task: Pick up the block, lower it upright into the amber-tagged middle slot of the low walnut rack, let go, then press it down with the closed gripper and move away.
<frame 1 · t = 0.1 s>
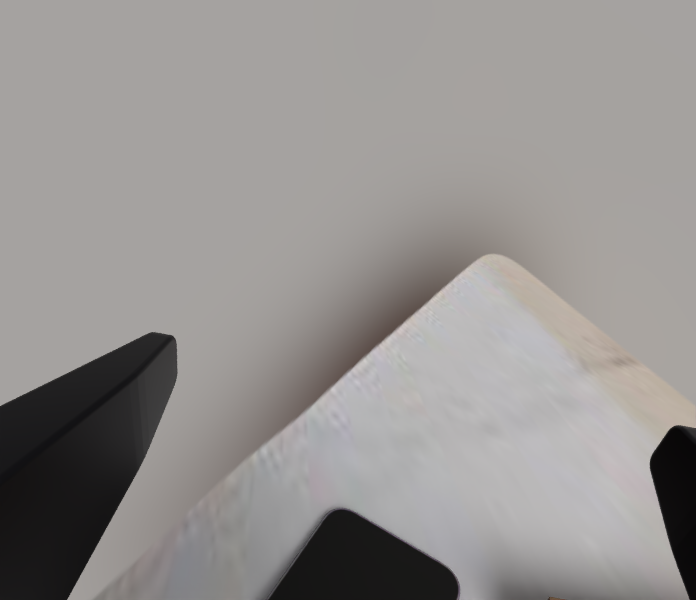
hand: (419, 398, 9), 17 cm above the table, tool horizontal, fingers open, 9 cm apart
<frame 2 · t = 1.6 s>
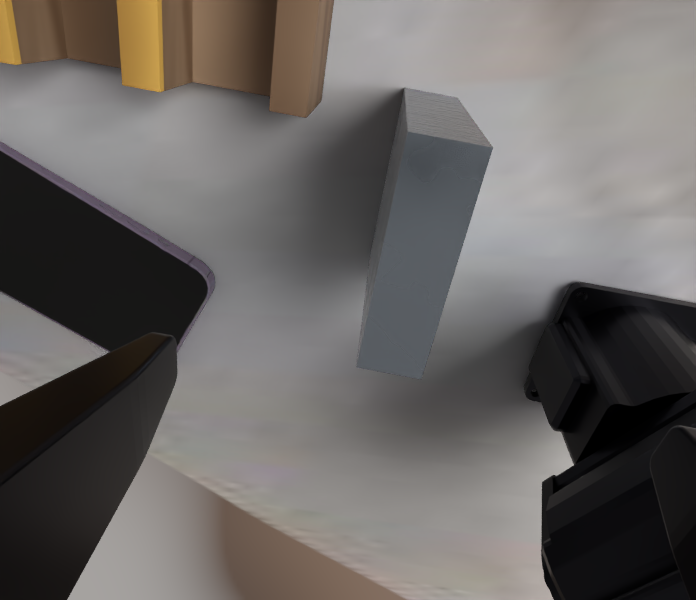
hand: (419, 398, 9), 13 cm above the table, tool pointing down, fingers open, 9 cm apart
smartphone: (57, 239, 24), on the table
block: (409, 183, 20), on the table
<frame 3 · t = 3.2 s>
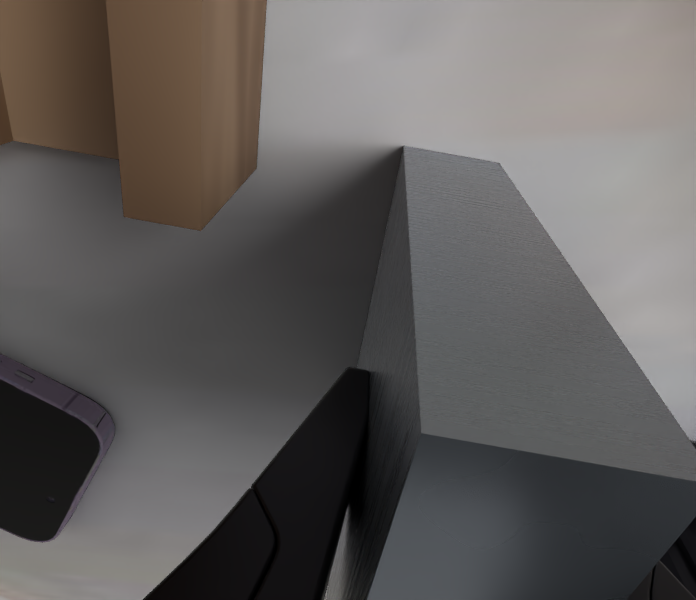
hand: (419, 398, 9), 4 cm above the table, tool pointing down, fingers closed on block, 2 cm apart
block: (413, 298, 12), on the table, touching gripper
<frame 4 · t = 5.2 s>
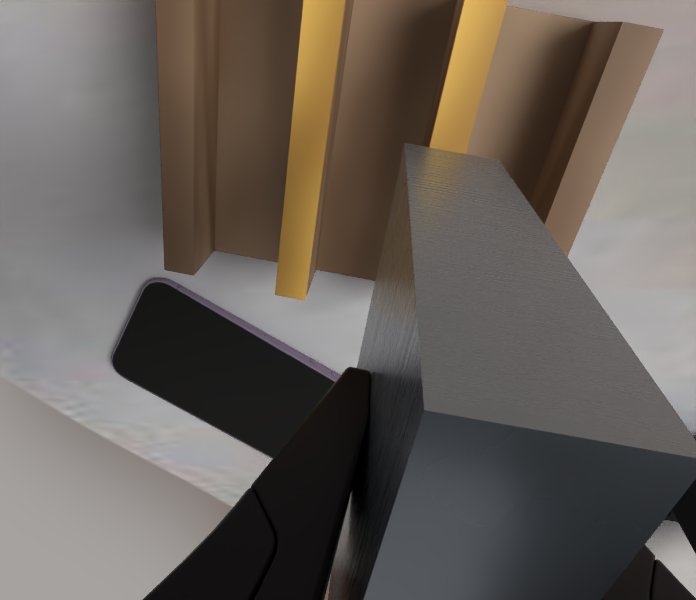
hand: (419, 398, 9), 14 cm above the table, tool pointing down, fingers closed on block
smartphone: (258, 380, 28), on the table
block: (414, 294, 12), point 10 cm above the table, touching gripper
rack: (377, 147, 20), on the table
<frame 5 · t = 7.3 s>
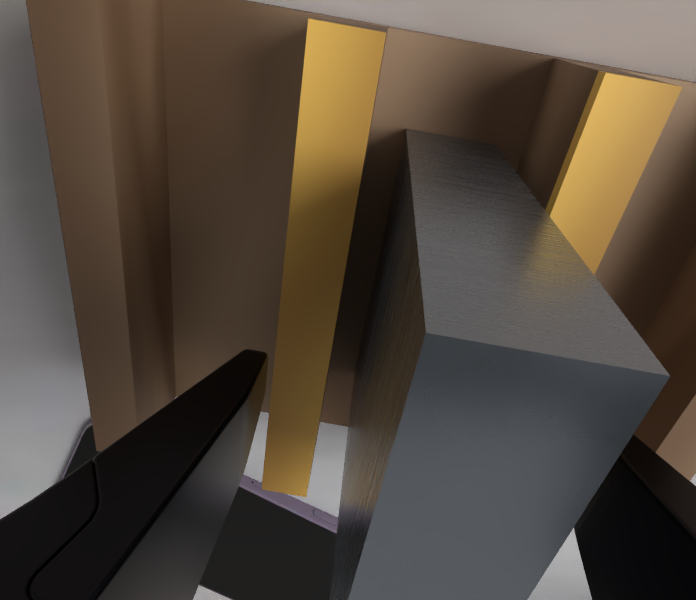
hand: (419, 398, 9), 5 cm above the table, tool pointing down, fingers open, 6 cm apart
smartphone: (245, 523, 21), on the table
block: (414, 274, 13), point 1 cm above the table, touching rack
rack: (410, 262, 14), on the table
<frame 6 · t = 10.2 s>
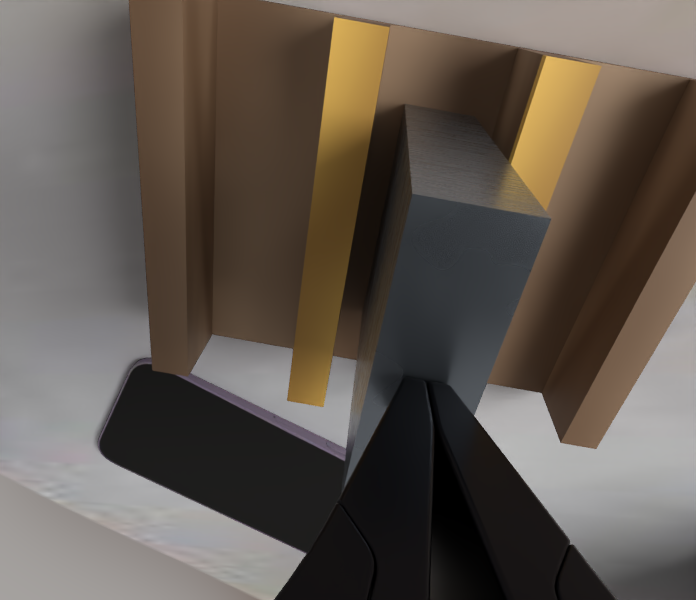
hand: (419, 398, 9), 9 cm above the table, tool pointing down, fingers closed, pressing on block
smartphone: (267, 460, 24), on the table
block: (412, 224, 16), point 1 cm above the table, touching gripper, rack
rack: (408, 217, 17), on the table
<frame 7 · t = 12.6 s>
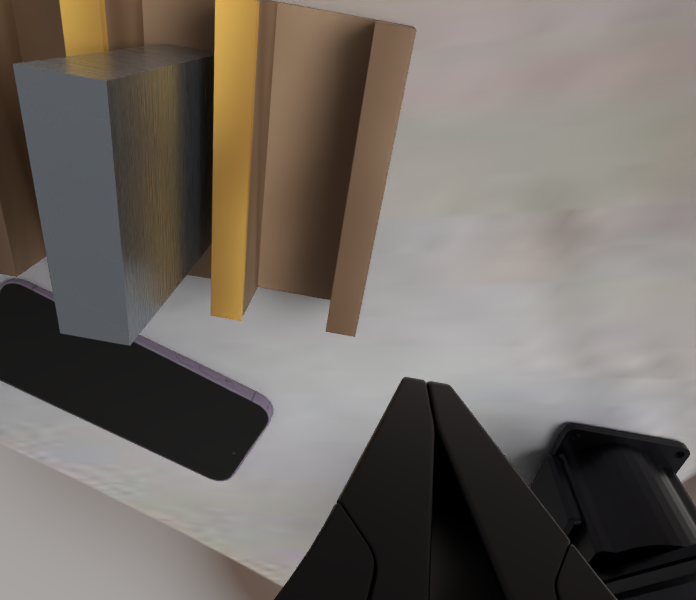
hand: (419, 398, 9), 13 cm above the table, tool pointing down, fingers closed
smartphone: (136, 377, 28), on the table
block: (194, 148, 19), point 1 cm above the table, touching rack
rack: (201, 146, 20), on the table
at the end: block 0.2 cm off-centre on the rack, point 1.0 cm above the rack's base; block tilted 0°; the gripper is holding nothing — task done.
